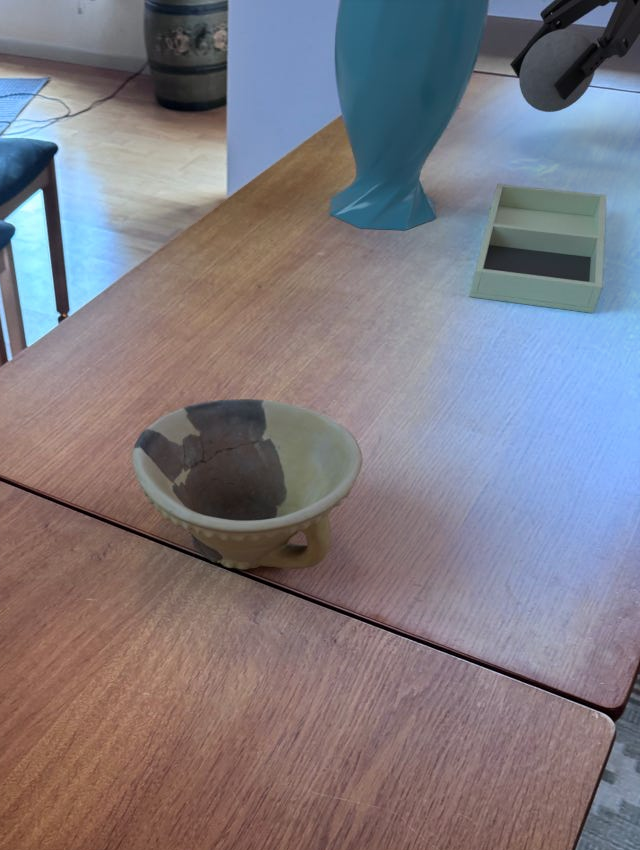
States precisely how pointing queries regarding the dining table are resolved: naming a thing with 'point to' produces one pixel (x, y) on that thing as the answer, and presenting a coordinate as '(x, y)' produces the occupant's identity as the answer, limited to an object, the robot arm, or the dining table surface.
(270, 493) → the bowl
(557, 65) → the decorative ball
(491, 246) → the organizer
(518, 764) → the dining table surface
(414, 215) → the vase
